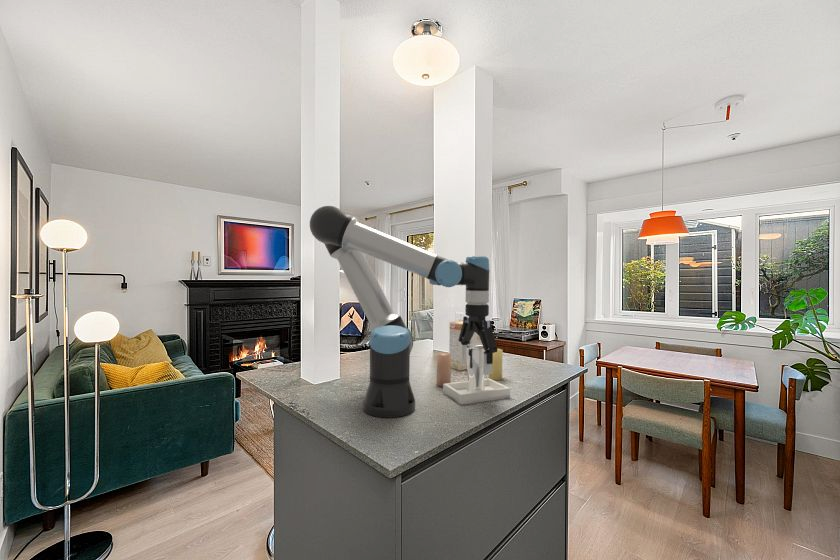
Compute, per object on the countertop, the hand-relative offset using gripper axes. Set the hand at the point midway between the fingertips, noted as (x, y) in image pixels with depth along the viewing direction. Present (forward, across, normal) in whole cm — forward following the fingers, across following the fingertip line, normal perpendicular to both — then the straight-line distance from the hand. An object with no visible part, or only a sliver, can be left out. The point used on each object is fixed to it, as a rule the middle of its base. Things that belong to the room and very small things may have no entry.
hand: (476, 368), depth 121 cm
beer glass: (+8, 0, 0) cm, 8 cm away
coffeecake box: (+9, +34, -16) cm, 39 cm away
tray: (+9, 0, 0) cm, 9 cm away
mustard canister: (+9, +14, -17) cm, 24 cm away
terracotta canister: (+9, +14, +5) cm, 17 cm away
